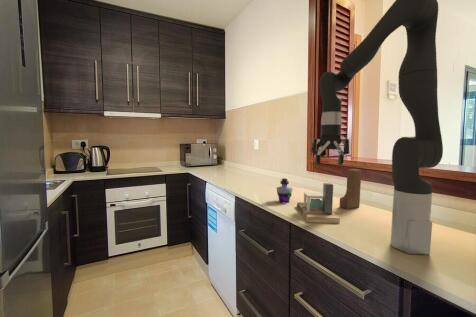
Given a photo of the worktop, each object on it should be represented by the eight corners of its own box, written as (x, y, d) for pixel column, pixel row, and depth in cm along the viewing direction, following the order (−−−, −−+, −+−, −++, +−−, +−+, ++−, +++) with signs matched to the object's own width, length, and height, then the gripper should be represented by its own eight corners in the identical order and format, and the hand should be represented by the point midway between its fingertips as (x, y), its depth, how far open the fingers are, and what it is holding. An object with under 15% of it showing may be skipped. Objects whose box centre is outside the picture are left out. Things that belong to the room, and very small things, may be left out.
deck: (339, 223, 95) (339, 218, 95) (308, 222, 95) (308, 217, 95) (322, 207, 117) (322, 202, 117) (297, 206, 118) (297, 202, 118)
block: (321, 210, 105) (322, 201, 105) (312, 210, 105) (312, 200, 105) (319, 207, 109) (319, 198, 109) (310, 207, 109) (310, 198, 109)
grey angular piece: (332, 214, 99) (333, 184, 98) (312, 213, 100) (313, 184, 99) (324, 206, 110) (325, 180, 109) (306, 206, 110) (307, 180, 109)
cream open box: (328, 211, 103) (329, 196, 103) (307, 211, 104) (307, 195, 103) (323, 206, 110) (324, 192, 110) (303, 206, 111) (304, 192, 110)
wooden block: (347, 209, 114) (349, 170, 112) (339, 207, 118) (340, 169, 116) (359, 207, 118) (361, 169, 116) (351, 204, 122) (353, 168, 120)
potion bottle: (289, 204, 121) (289, 180, 120) (272, 202, 126) (273, 178, 125) (294, 200, 129) (295, 178, 128) (279, 198, 133) (279, 176, 132)
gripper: (315, 123, 95) (313, 165, 96) (353, 123, 94) (351, 165, 95) (310, 124, 102) (309, 163, 103) (345, 124, 101) (343, 163, 103)
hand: (329, 164), depth 99 cm, fingers open, 8 cm apart
